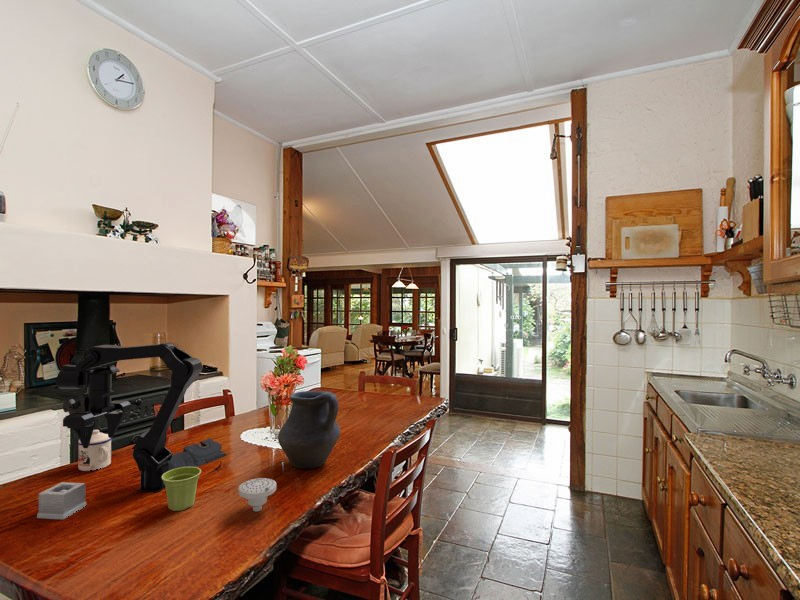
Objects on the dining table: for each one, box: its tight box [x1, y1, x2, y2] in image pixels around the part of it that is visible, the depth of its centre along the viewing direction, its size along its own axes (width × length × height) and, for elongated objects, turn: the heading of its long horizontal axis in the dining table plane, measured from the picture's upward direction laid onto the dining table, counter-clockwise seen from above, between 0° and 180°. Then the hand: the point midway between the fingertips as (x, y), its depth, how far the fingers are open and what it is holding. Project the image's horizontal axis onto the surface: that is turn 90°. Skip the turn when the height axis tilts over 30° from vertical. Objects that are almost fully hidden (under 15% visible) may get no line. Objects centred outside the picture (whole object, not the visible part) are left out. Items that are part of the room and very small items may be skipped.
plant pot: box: [162, 467, 202, 512], centre depth 112 cm, size 9×9×9 cm
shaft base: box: [36, 490, 88, 520], centre depth 108 cm, size 7×7×6 cm
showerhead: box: [238, 477, 277, 512], centre depth 111 cm, size 9×7×10 cm
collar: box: [38, 481, 86, 515], centre depth 108 cm, size 7×7×5 cm
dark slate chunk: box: [167, 438, 228, 471], centre depth 144 cm, size 15×22×5 cm
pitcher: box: [277, 390, 341, 470], centre depth 142 cm, size 21×22×25 cm
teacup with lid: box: [77, 429, 113, 472], centre depth 137 cm, size 12×9×12 cm
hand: (98, 442), depth 122 cm, fingers open, 9 cm apart
